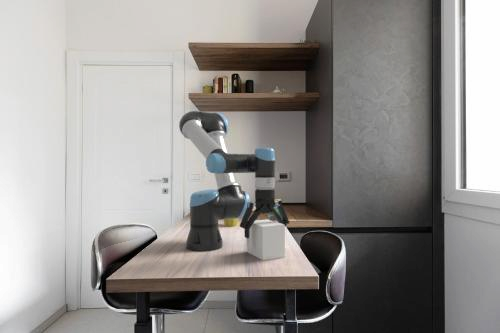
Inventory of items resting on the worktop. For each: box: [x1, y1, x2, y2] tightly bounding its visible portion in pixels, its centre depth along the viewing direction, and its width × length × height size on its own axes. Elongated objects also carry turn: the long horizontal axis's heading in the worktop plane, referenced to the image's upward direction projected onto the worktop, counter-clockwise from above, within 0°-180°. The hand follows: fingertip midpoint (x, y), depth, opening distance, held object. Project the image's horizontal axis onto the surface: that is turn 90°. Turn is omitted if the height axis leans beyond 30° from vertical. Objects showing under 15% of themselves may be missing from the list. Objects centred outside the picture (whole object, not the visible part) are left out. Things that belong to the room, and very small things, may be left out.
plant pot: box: [223, 218, 239, 228], centre depth 184 cm, size 10×10×10 cm
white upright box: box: [246, 218, 286, 261], centre depth 124 cm, size 9×13×12 cm
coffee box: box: [267, 198, 282, 221], centre depth 203 cm, size 8×3×13 cm, turn 101°
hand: (265, 244), depth 124 cm, fingers open, 13 cm apart
